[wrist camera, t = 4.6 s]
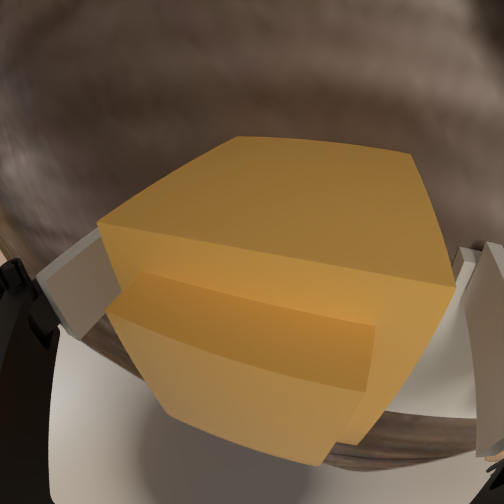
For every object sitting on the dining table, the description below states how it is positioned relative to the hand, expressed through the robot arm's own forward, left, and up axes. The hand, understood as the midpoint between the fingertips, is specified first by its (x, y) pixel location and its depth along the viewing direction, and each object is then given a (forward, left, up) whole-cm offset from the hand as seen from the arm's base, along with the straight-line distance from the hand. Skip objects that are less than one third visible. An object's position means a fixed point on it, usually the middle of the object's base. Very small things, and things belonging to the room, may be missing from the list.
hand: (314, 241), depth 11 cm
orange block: (0, 0, -1) cm, 1 cm away
